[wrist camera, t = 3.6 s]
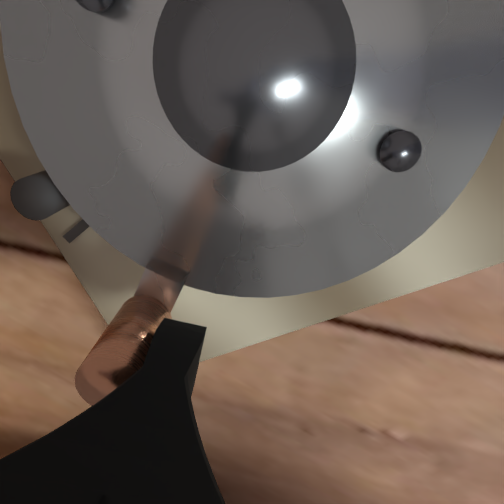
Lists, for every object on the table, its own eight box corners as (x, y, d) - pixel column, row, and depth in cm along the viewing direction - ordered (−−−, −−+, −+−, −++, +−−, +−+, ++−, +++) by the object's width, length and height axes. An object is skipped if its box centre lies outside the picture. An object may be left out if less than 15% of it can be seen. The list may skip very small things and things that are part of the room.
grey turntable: (109, -409, 7) (-69, -963, 3) (615, -59, 9) (875, -174, 5) (-31, 243, 12) (-161, 308, 8) (304, 385, 14) (316, 493, 10)
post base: (475, -500, 8) (592, -835, 5) (567, 215, 13) (647, 248, 10) (-121, -91, 11) (-259, -156, 8) (154, 355, 16) (130, 410, 13)
